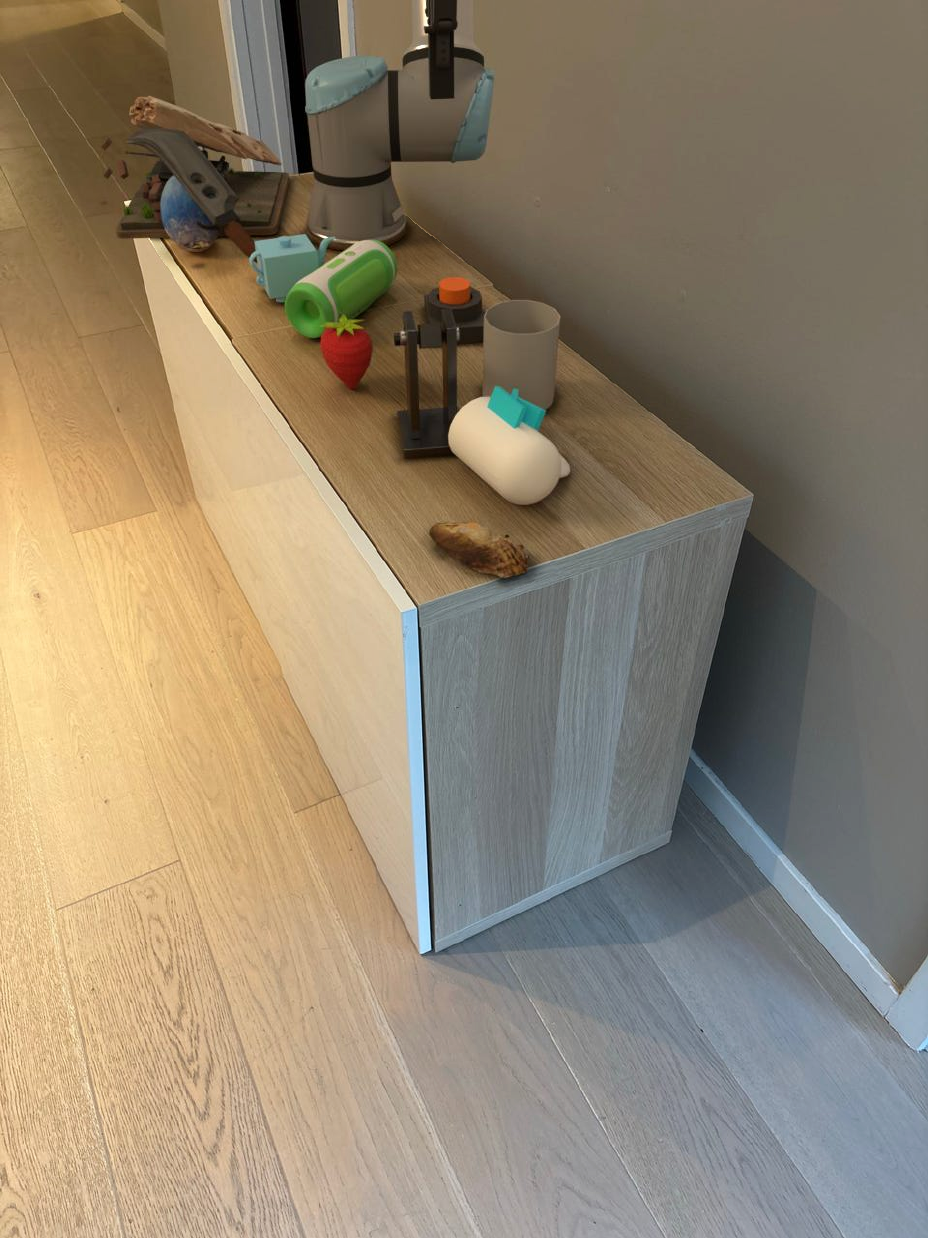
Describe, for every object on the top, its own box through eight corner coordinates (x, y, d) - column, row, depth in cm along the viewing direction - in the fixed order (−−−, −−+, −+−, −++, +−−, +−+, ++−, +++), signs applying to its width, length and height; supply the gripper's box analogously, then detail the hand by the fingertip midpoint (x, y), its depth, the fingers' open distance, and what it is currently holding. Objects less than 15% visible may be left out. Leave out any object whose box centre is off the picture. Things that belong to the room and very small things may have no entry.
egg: (242, 265, 138) (227, 177, 141) (199, 239, 130) (185, 147, 133) (198, 290, 141) (185, 204, 144) (155, 266, 134) (142, 176, 137)
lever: (394, 350, 107) (393, 328, 107) (446, 347, 108) (445, 325, 107) (402, 349, 94) (400, 324, 93) (461, 346, 94) (459, 321, 94)
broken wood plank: (267, 172, 164) (273, 142, 163) (307, 184, 157) (314, 153, 155) (114, 121, 144) (119, 86, 142) (151, 133, 137) (157, 96, 135)
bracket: (397, 419, 106) (391, 303, 96) (458, 415, 107) (458, 299, 97) (404, 459, 100) (398, 340, 91) (468, 454, 101) (469, 335, 91)
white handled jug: (539, 430, 85) (468, 375, 93) (504, 516, 90) (439, 456, 97) (624, 439, 93) (552, 387, 100) (587, 518, 97) (521, 462, 105)
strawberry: (333, 408, 108) (324, 327, 101) (319, 377, 113) (309, 297, 106) (382, 399, 109) (377, 318, 102) (366, 369, 114) (360, 290, 107)
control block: (424, 309, 126) (423, 281, 123) (475, 306, 126) (475, 278, 124) (432, 345, 119) (432, 315, 116) (487, 341, 119) (487, 311, 117)
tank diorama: (290, 178, 161) (281, 110, 154) (276, 234, 143) (265, 161, 136) (127, 182, 161) (110, 114, 153) (93, 240, 143) (72, 166, 135)
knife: (247, 292, 128) (119, 131, 131) (247, 302, 130) (121, 143, 133) (299, 266, 131) (173, 109, 134) (298, 276, 133) (173, 121, 136)
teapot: (333, 275, 133) (328, 222, 128) (345, 293, 129) (340, 238, 124) (250, 288, 130) (241, 234, 125) (260, 307, 126) (251, 251, 120)
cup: (548, 419, 106) (554, 338, 99) (477, 411, 107) (478, 330, 100) (557, 382, 112) (564, 303, 105) (490, 375, 113) (492, 296, 106)
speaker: (357, 283, 132) (353, 230, 126) (402, 294, 129) (399, 240, 124) (285, 335, 120) (277, 279, 115) (332, 348, 118) (326, 291, 113)
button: (437, 293, 121) (437, 277, 120) (467, 291, 122) (468, 276, 120) (441, 306, 118) (441, 291, 117) (472, 304, 119) (472, 289, 117)
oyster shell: (476, 491, 91) (542, 547, 86) (469, 523, 93) (532, 579, 88) (427, 504, 88) (492, 562, 82) (421, 536, 90) (484, 595, 85)
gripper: (394, -179, 94) (403, 82, 111) (406, -169, 85) (414, 115, 101) (467, -180, 95) (466, 80, 111) (487, -169, 86) (482, 112, 102)
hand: (441, 96), depth 106 cm, fingers closed
